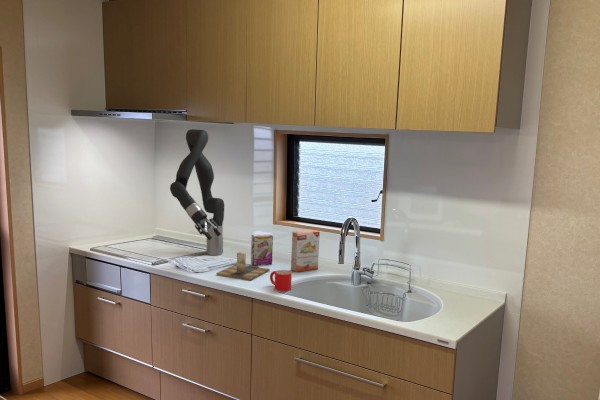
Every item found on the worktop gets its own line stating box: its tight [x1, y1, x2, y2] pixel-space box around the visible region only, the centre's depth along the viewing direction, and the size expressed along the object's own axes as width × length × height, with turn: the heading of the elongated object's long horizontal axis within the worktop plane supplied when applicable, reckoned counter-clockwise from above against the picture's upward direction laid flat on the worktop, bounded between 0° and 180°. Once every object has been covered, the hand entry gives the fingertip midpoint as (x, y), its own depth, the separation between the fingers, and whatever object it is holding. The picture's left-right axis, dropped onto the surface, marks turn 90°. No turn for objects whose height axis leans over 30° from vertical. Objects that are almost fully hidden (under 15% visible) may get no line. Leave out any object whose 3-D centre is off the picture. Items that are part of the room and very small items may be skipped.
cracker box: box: [290, 229, 321, 273], centre depth 284 cm, size 14×6×21 cm, turn 121°
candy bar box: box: [250, 233, 274, 266], centre depth 292 cm, size 11×5×16 cm, turn 110°
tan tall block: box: [236, 251, 247, 274], centre depth 270 cm, size 4×4×10 cm
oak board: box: [216, 263, 270, 282], centre depth 275 cm, size 20×20×1 cm
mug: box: [269, 269, 293, 292], centre depth 252 cm, size 8×12×8 cm, turn 54°
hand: (215, 237), depth 276 cm, fingers open, 8 cm apart
